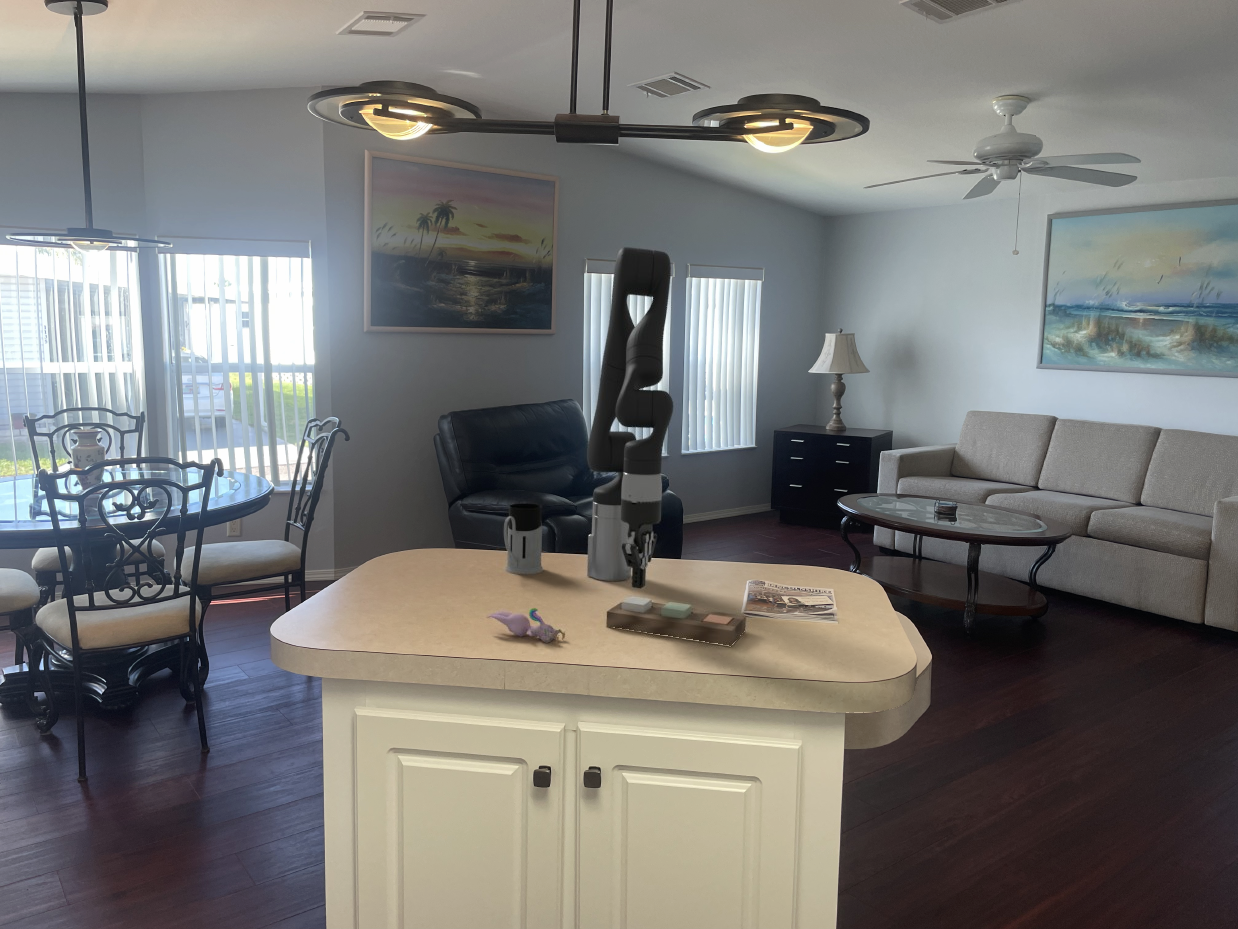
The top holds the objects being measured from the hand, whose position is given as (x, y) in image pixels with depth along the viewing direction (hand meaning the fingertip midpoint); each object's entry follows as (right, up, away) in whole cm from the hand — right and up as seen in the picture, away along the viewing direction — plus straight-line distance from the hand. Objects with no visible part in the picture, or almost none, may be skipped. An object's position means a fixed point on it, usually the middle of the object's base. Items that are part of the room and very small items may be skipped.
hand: (638, 587), depth 170 cm
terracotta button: (+14, -8, -5) cm, 17 cm away
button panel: (+7, -8, -2) cm, 10 cm away
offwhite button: (0, -5, +1) cm, 6 cm away
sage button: (+7, -6, -2) cm, 9 cm away
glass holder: (-27, -2, +37) cm, 45 cm away
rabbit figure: (-21, -8, -9) cm, 24 cm away
